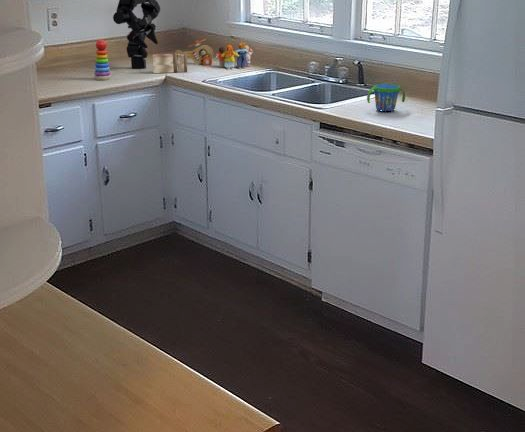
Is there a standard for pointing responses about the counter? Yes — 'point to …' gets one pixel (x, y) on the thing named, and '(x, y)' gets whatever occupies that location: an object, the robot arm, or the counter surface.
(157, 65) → the fence gate
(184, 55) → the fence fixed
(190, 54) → the toy helicopter
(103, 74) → the stacking toy
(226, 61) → the doll family
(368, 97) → the snack cup
